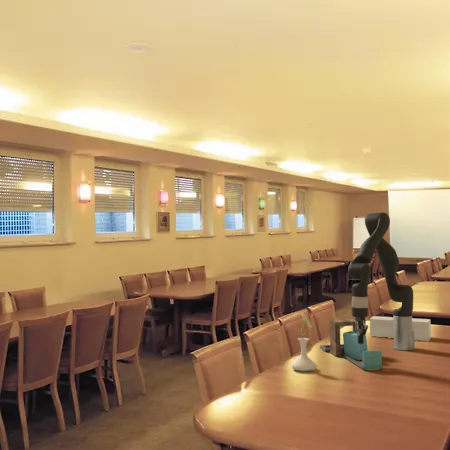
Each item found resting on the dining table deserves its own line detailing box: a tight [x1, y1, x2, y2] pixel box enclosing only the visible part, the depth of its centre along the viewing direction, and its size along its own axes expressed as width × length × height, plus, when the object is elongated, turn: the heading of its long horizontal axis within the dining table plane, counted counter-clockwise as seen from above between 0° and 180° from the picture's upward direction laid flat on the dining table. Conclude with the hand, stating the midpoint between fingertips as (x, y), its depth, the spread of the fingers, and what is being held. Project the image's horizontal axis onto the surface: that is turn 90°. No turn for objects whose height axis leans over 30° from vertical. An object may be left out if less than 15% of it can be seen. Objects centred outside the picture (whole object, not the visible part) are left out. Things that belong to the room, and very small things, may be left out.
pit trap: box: [319, 343, 344, 353], centre depth 266 cm, size 18×8×2 cm, turn 98°
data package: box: [342, 330, 368, 361], centre depth 247 cm, size 12×4×12 cm, turn 26°
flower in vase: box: [290, 312, 318, 372], centre depth 228 cm, size 13×11×25 cm
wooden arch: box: [329, 318, 355, 358], centre depth 255 cm, size 15×8×17 cm, turn 98°
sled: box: [341, 347, 383, 371], centre depth 239 cm, size 8×30×8 cm, turn 8°
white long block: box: [369, 315, 432, 342], centre depth 294 cm, size 32×11×11 cm, turn 63°
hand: (360, 343), depth 237 cm, fingers closed
